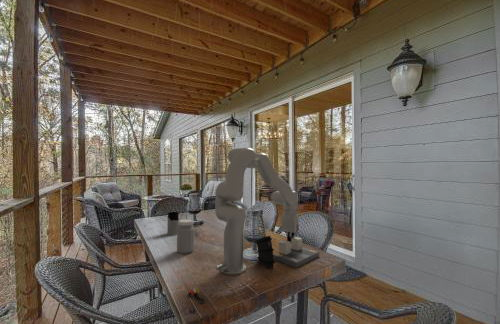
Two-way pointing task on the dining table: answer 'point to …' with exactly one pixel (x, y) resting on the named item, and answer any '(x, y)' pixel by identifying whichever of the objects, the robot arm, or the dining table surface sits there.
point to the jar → (185, 236)
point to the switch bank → (297, 257)
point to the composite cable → (196, 295)
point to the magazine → (265, 252)
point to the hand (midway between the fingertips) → (290, 242)
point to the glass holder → (173, 223)
